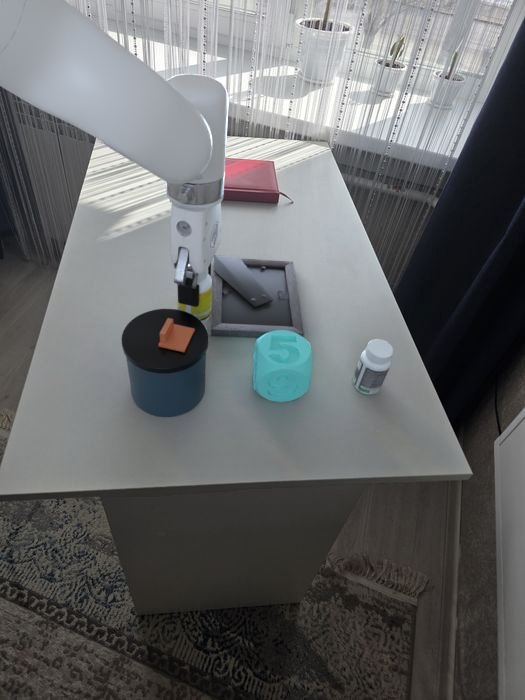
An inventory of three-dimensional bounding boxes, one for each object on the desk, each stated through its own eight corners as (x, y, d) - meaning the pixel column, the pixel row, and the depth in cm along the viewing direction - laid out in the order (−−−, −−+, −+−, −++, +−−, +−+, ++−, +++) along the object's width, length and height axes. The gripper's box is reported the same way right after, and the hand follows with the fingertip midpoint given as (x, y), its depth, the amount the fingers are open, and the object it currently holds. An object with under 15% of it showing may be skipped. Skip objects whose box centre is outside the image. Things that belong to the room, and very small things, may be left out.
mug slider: (158, 346, 62) (157, 336, 60) (169, 325, 65) (169, 314, 64) (184, 352, 62) (184, 342, 60) (194, 330, 65) (194, 320, 63)
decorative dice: (300, 365, 78) (309, 330, 72) (304, 403, 72) (314, 369, 66) (252, 362, 77) (257, 327, 71) (253, 401, 71) (258, 366, 66)
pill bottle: (386, 389, 76) (403, 354, 70) (363, 399, 74) (378, 363, 68) (368, 369, 79) (383, 333, 73) (345, 378, 77) (359, 342, 71)
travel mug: (116, 408, 68) (106, 356, 60) (146, 353, 76) (141, 300, 68) (193, 427, 67) (193, 376, 59) (215, 369, 75) (218, 318, 67)
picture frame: (213, 263, 95) (210, 335, 80) (214, 254, 93) (211, 327, 79) (291, 268, 96) (302, 340, 82) (293, 260, 95) (304, 331, 80)
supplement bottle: (216, 309, 79) (218, 261, 72) (203, 329, 75) (204, 280, 68) (186, 299, 80) (186, 251, 73) (172, 319, 76) (170, 270, 69)
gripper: (203, 222, 55) (201, 333, 68) (238, 162, 67) (231, 266, 80) (142, 209, 55) (152, 321, 68) (188, 152, 67) (189, 257, 80)
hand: (194, 290), depth 74 cm, fingers closed on supplement bottle, 5 cm apart
